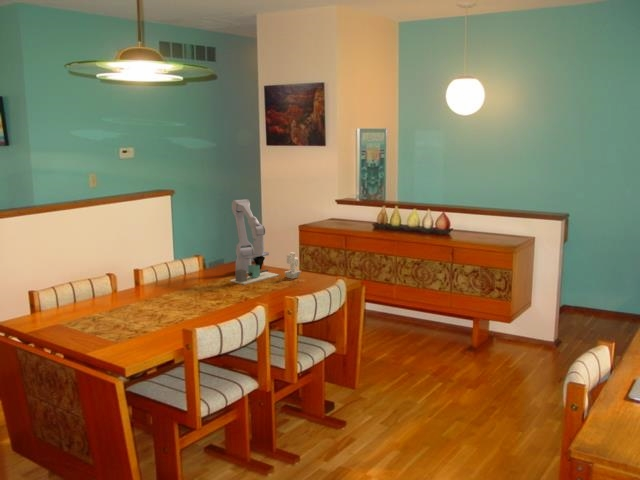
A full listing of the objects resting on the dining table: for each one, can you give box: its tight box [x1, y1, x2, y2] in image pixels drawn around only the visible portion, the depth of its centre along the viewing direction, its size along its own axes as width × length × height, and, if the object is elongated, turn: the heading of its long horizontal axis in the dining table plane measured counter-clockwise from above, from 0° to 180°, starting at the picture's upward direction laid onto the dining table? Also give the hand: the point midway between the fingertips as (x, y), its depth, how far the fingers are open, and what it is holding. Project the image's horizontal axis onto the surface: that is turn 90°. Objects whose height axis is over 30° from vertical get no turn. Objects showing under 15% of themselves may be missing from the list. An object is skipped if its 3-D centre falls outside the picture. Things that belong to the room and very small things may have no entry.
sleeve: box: [248, 263, 261, 277], centre depth 370 cm, size 4×5×6 cm
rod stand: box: [229, 268, 280, 286], centre depth 371 cm, size 12×28×7 cm, turn 139°
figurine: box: [284, 251, 302, 280], centre depth 373 cm, size 7×9×15 cm
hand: (259, 269), depth 373 cm, fingers closed
